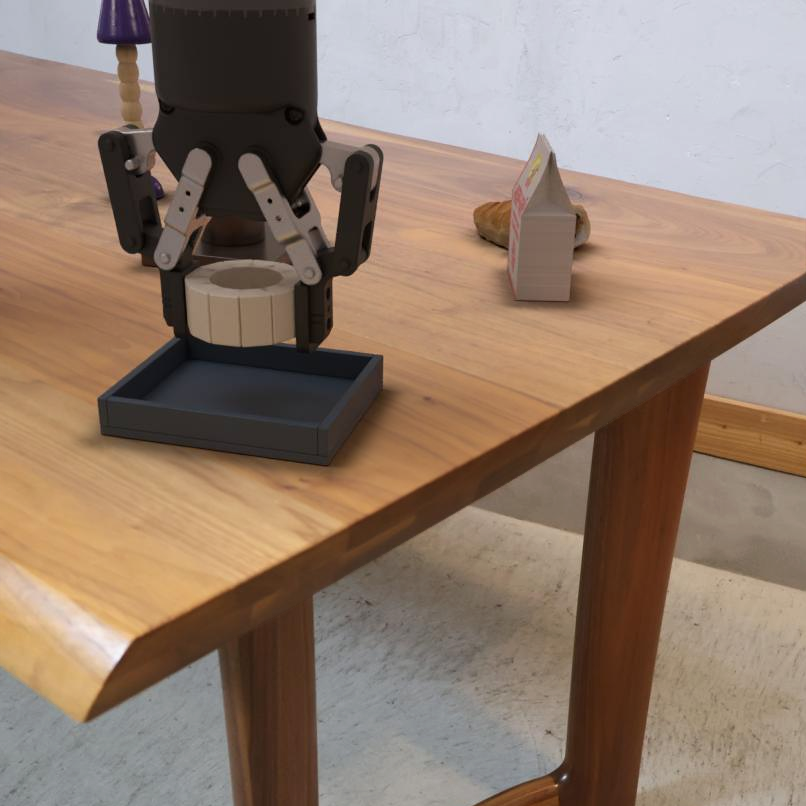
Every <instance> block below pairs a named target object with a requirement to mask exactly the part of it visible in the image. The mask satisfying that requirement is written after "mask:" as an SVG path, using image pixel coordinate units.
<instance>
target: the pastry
mask: <svg viewBox="0 0 806 806" xmlns="http://www.w3.org/2000/svg"><path fill="white" fill-rule="evenodd" d="M511 201H512V199H508V200H507V199H506V200H502V201H488V202H485V203H484V204H482V205H479V206H477V207H476V208H475V209H474V210H473V213H472V217H473V224H474V226H475V229H476V231H477V233H478V234H479V235H480V236H481V238H485V240H486V241H488V242H490V241H492V242H493V243H494V244H495V245H499V246H502V247H504V248H505V249H508V250H509V234H510V218H511ZM571 204H572V207H573V209H574V212H575V214H576V227H575V238H574V249H576V248H578V247H580V246H582V245H584V244H585V243H587V242H588V241H589V238H590V236H591V221H590V219H589V215H588V212H587V210H586V209H585V208H584V206H583V205H582V204H577V205H575V204H574V203H571Z"/></svg>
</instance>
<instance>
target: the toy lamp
mask: <svg viewBox="0 0 806 806" xmlns="http://www.w3.org/2000/svg"><path fill="white" fill-rule="evenodd" d="M96 29H97V30H96V40H97V42H98V43H100V44H104V45H115V57H116V60H117V62H118V64H117V68H116V70H117V71H116V73H117V77H118V80H119V84H118V94H119V97H120V99H121V103H120V114H121V117H122V119H123V122H122V126H125V125H127V124H133V125H136V126H137V127H139V128H140V129H142V128H145V125H144V123H143V120H142V117H143V107H142V104H141V101H140V98H141V86H140V84H139V82H138V81H139V78H140V68H139V66H138V64H137V61H138V55H139V53H138V48H137V46H140V45H148V44H149V45H150V44H151V31H150V17H149V10H148V8H147V6H146V3H145V0H101V3H100V9H99V16H98V22H97V28H96ZM151 176H152V181H153V185H154V190H155V195H156V200H157V199H159V198H162V197H163V196H164V195H165V192H164V188H163V186H162V184H161V181H159V180H158V178H156V177H155V176H153V175H151Z"/></svg>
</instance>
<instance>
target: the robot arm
mask: <svg viewBox="0 0 806 806" xmlns="http://www.w3.org/2000/svg"><path fill="white" fill-rule="evenodd" d="M147 1H148V3H147V5H148V14H149V18H150V31H151V43H150V44H151V56H152V66H153V67H152V68H153V80H154V81H153V82H154V90H155V91H154V92H155V94H156V98H157V102H158V115H157V118H156V121H155V123H154V125H153V127H144V128H142V129H140V128H139V127H137V126H136V125H133V124H127V125H125V126H123V125H122V126H120V127H117V128H114V129H112V130H109V131H107V132H104V133H102V134H101V135H100V136H99V137H98V138H97V148H98V152H99V157H100V161H101V165H102V170H103V174H104V179H105V183H106V188H107V192H108V197H109V201H110V207H111V210H112V216H113V219H114V223H115V224H114V225H115V228H116V233H117V238H118V242H119V245H120V247H121V249H122V250H123V251H124V252H125V253H127V254H129V255H136V254H139V255H141V254H142V255H144V256H146V257H148V258H150V259H152V260H153V261H154V262H155V263H156V264H157V266H156V267H157V268H158V271H159V279H160V281H159V282H160V291H161V294H160V295H161V305H162V316H163V319H164V321H165V324H166V326H167V327H170V328H171V327H172V330H173V337H176V338H180V339H191V338H192V337H194V336H193V335H192V334H191V333H190V330H189V327H188V321H187V307H186V293H185V279H184V278H185V276H186V275H188V274H189V273H190V272H192V271H193V270H195V269H196V268H199V267H200V261H199V260H193V254H194V253H195V251H196V249H197V246H198V244H199V241H200V239H201V237H202V234H203V232H204V230H205V227H206V225H207V223H208V222H209V221H210V220H211V218H212V217H219V218H221V217H226V216H231V215H237V216H240V217H243V218H246V219H248V220H251V221H262V222H266V221H267V223H268V225H269V227H270V229H271V231H272V233H273V235H274V237H275V239H276V241H277V242H278V243H279V244H280V245H282V246H284V248H285V249H286V251H287V254H288V256H289V258H290V260H291V262H292V264H291V265H292V266H294V268H295V270H296V272H297V274H298V276H299V278H300V280H299V281H298V282H297V283H296V284H295V285H294V295H295V328H296V338H295V344H296V350H297V352H298V353H306V354H312V353H313V352H314V351H315V350H316V349H317V348H318V347H321V345H322V344H323V343H324V342H325V340H326V339H327V338H328V337H329V336H330V335H331V333H332V329H333V327H334V307H333V306H334V301H333V300H334V295H333V281H334V278H337V277H341V276H342V277H350V276H352V275H353V274H354V273H356V271H358V269H359V267H360V266H361V265H363V264H364V263H365V262H367V261H368V259H369V258H370V256H371V252H372V244H373V238H374V237H373V236H374V229H375V222H376V216H377V209H378V201H379V194H380V188H381V181H382V173H383V166H384V152H383V150H382V148H381V147H380V146H378V145H376V144H375V143H367V144H365V145H363V146H361V147H358V146H354V145H349V144H345V143H341V142H338V141H337V142H336V141H332V140H328V137H327V135H326V132H325V131H324V128H323V126H322V125H321V122H320V117H319V115H318V105H319V103H318V102H319V101H318V100H319V88H318V87H319V85H318V84H319V83H318V80H319V79H318V40H317V39H318V30H317V29H318V27H317V26H318V25H317V24H318V23H317V0H147ZM156 154H157V155H158V156H159V158H160V159H161V161H162V162H163V163H164V165H165V167H166V168H167V169H168V170H169V172H170V174H172V176H173V177H174V179H175V180H176V182H177V183H178V184H177V187H176V189H175V190H174V191H175V192H174V194H173V196H172V199H171V202H170V203H169V207H168V209H167V211H166V214H165V216H164V220H163V223H164V227H163V225H162V224H163V223H162V220H161V214H160V210H159V206H158V200H157V199H156V195H155V190H154V185H153V181H152V176H153V175H152V172H151V170H152V169H153V168H155V166H156ZM322 165H323V166H325V168H326V169H327V170H328V171H329V174H330V183H331V186H332V187H333V189H334V190H335V191H337V192H339V193H340V200H339V206H338V207H339V208H338V215H337V222H336V223H337V224H336V232H335V239H334V245H333V246H331V243H330V240H329V239H328V237H327V235H326V232H325V231H324V228H323V226H322V216H321V213H320V211H319V209H318V207H317V204H316V202H315V200H314V198H313V196H312V194H311V192H310V189H309V188H308V186H307V185H308V184H309V182H310V181H311V179H312V178H313V177H314V176H315V174H316V173H317V171H318V170H319V169H320V167H321V166H322Z"/></svg>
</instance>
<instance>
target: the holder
mask: <svg viewBox="0 0 806 806" xmlns="http://www.w3.org/2000/svg"><path fill="white" fill-rule="evenodd" d="M140 259H141V265H142V266H150V267H158V266H157V264H156V263H155V262H154V261H153V260H152V259H150V258H148V257H146V256H144V255H142V254H140ZM250 259H251V260H252V261H253V260H262V261H272V262H279V263H285V264H288V265H293V264H292V262H291V260H290V258H289V256H288V254H287V251H286V249H285V248H284V246H282V245H280V244H279V243H278V242H277V241H276V239H275V237H274V235H273V233H272V231H271V229H270V227H269V225H268V223H267V221H266V222H262V221H251V220H248V219H246V218H243V217H240V216H237V215H231V216H226V217H221V218H219V217H212V218H211V220H210V221H209V222H208V223H207V225H206V227H205V230H204V232H203V234H202V237H201V239H200V241H199V244H198V246H197V249H196V251H195V253H194V254H193V260H199V261H200V267H201V266H205V265H209V264H213V263H217V262H224V261H233V260H250Z"/></svg>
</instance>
